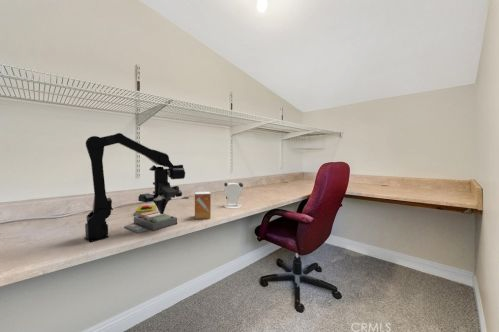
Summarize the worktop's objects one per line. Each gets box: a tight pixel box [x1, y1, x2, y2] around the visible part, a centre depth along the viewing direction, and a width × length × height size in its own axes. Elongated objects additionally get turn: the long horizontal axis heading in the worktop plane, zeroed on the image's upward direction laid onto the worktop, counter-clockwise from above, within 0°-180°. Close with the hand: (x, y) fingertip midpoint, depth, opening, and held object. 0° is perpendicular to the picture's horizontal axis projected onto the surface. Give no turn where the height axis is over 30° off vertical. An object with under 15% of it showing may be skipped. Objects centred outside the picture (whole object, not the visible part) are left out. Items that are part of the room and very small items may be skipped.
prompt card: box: [124, 223, 148, 234], centre depth 98 cm, size 4×12×1 cm, turn 53°
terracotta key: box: [140, 210, 159, 218], centre depth 109 cm, size 7×4×2 cm, turn 144°
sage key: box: [152, 214, 172, 223], centre depth 103 cm, size 7×4×2 cm, turn 144°
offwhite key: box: [146, 212, 165, 221], centre depth 106 cm, size 7×4×2 cm, turn 144°
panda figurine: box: [223, 182, 244, 209], centre depth 141 cm, size 12×11×15 cm
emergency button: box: [134, 204, 157, 217], centre depth 125 cm, size 9×4×15 cm
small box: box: [194, 191, 212, 220], centre depth 117 cm, size 8×6×13 cm
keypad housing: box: [133, 211, 178, 232], centre depth 106 cm, size 12×17×3 cm
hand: (161, 213), depth 102 cm, fingers closed
